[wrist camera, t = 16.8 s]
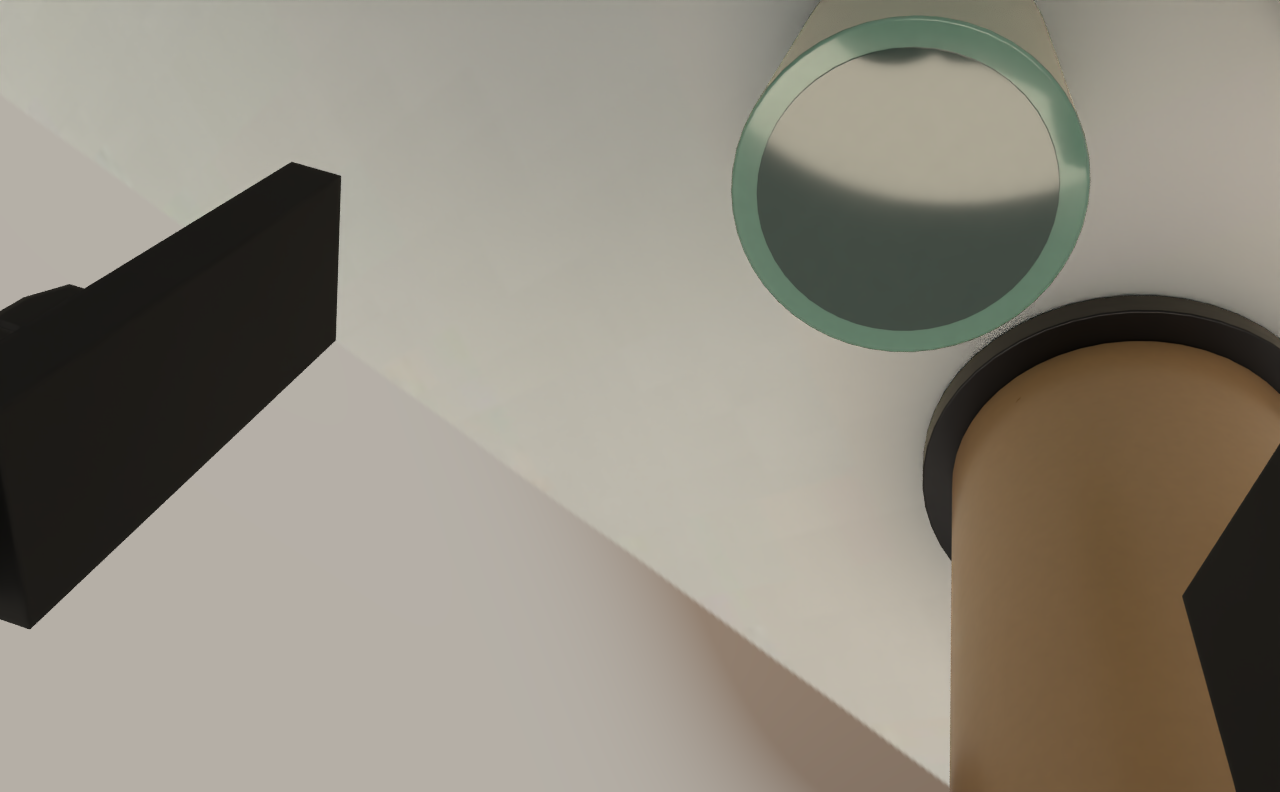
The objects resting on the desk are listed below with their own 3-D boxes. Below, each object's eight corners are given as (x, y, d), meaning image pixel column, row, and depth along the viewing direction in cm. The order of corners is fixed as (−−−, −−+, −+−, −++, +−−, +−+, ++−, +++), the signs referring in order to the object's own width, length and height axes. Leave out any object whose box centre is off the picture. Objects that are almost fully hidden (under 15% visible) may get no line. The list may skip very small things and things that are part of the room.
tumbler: (777, -32, 31) (707, 43, 23) (1053, -75, 29) (1095, -10, 20) (804, 213, 35) (752, 360, 26) (1052, 192, 33) (1087, 346, 24)
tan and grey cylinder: (913, 306, 36) (875, 760, 19) (1364, 281, 32) (1805, 827, 15) (932, 610, 41) (915, 1156, 25) (1314, 621, 38) (1591, 1278, 21)
